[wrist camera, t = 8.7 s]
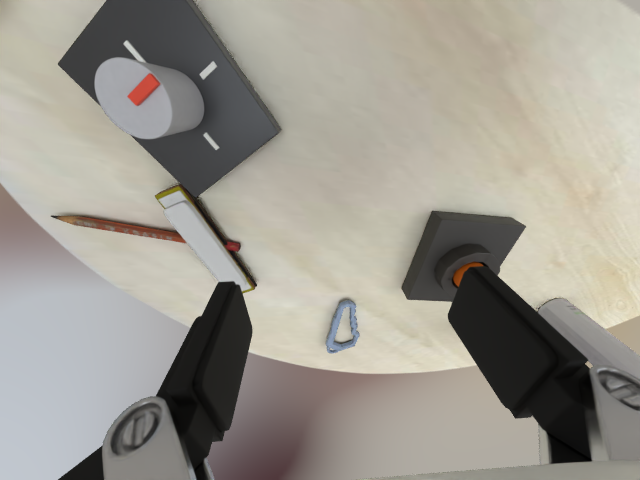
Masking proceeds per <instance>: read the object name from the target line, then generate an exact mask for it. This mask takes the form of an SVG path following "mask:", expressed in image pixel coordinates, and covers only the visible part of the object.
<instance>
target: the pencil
mask: <svg viewBox="0 0 640 480" xmlns="http://www.w3.org/2000/svg"><path fill="white" fill-rule="evenodd" d="M51 217H53V218H56V219H59V220H62V221H64V222H67V223H70V224H73V225H78V226H84V227H90V228H96V229H102V230H108V231H115V232H121V233H127V234H133V235H139V236H145V237H151V238H158V239H164V240H170V241H176V242H182V243H186V241H185V240H184V239H183V238H182V236H181V235H180V234H179V233H175V232H169V231H164V230H158V229H152V228H146V227H140V226H134V225H128V224H123V223H117V222H111V221H105V220H99V219H93V218H88V217H81V216H51ZM226 242H227V244H228V245H225V247H226V248H227V250H232V251H239V250H240V244H239V243H234V242H228V241H226Z"/></svg>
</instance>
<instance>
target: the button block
mask: <svg viewBox="0 0 640 480" xmlns="http://www.w3.org/2000/svg"><path fill="white" fill-rule="evenodd" d="M525 228H526V226H525V225H523V224H521V223H520V222H518V221H516V220H514V219H513V218H508V217H496V216H485V215H473V214H461V213H449V212H438V211H432V213H431V216H430V218H429V221H428V223H427V226H426V228H425V231H424V234H423V236H422V239H421V241H420V244H419V246H418V249H417V251H416V254H415V256H414V259H413V261H412V264H411V266H410V269H409V271H408V274H407V276H406V279H405V281H404V284H403V286H402V290H403V292H404V294H405V296H406V298H407V299H408V300H428V301H451V302H453V300H454V297H455V295H456V292H457V289H458V286H457V285H456V284H455V283H454V281H453V275H454V273H455V271H457V270H458V269H459V268H461V267H462V266H463V265H465V264H468V263H471V262H479V263H481V264H483V265H484V266H486V267H488V268H489V269H490V270H492V271H493V272H494V273H495V274H496V275H498V274H499V272H500V266H501V264H502V263H503V261H504V260H505V258H506V256H507V255H508V253H509V252H510V250H511V249H512V247H513V246H514V244H515V243H516V241H517V240H518V238H519V237H520V235H521V234H522V232H523V231H524V229H525Z"/></svg>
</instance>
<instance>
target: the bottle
mask: <svg viewBox="0 0 640 480" xmlns="http://www.w3.org/2000/svg"><path fill="white" fill-rule="evenodd" d="M538 314H540V315H541V316H542V317H543V318H544V319H545V320H546V321H547V322H548V323H549V324H550V325H552V326H553V327H554V328H555V329H556V330H557V331H558V332H559V333H560V334H561V335H562V336H564V337H565V338H566V339H567V340H568V341H569V342H570V343H571V344H572V345H573V346H574V347H576V348H577V349H578V350H579V351H580V352H581V353H582V354H583V355H584V356H585V357H586V358H588V359H589V360H588V361H589V362H590V363H591V364H592V365H593V366H594V365H599V364H601V365H609V366H612V367H615V368H618V369H621V370H623V371H625V372H627V373H630V374H632V375H633V376H635V377H637V378H638V379H640V356H639V355H638V354H636V353H635V352H634V351H633V350H631V349H630V348H629V347H628V346H626V345H625V344H624V343H622V342H621V341H620V340H618V339H617V338H616V337H615V336H613V335H612V334H610V333H609V332H608V331H607V330H605V329H604V328H603V327H601V326H600V325H599V324H598V323H596V322H595V321H594V320H592V319H591V318H590V317H588V316H587V315H586V314H584V313H583V312H582V311H581V310H579V309H578V308H577V307H575V306H574V305H573V304H571V303H570V302H569V301H568V300H566V299H563V298H557V299H553V300H551V301H549V302H547V303H545V304H544V305H543V306H541V307H540V309H539V311H538Z"/></svg>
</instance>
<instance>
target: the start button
mask: <svg viewBox="0 0 640 480" xmlns="http://www.w3.org/2000/svg"><path fill="white" fill-rule="evenodd" d="M477 266H484V265H483V264H481V263H479V262H471V263H468V264H465V265H463V266H462V267H461V268H459V269H458V270H457V271H455V273H454V275H453V281H454V283H455V284H456V285H457V286H458V287H459V284H460V281H461V279H462V276H463V274H464V272H465V271H467V269H468V268H469V267H477Z"/></svg>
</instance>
